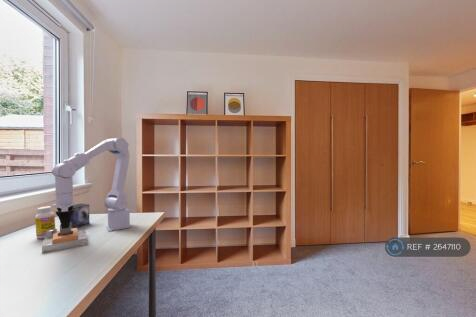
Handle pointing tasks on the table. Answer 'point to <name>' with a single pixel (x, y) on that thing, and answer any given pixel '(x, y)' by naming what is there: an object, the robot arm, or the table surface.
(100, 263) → the table surface
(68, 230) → the grey metal square peg
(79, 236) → the peg hole board
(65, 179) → the robot arm
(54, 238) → the bracket
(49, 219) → the supplement bottle
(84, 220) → the small box
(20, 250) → the table surface
